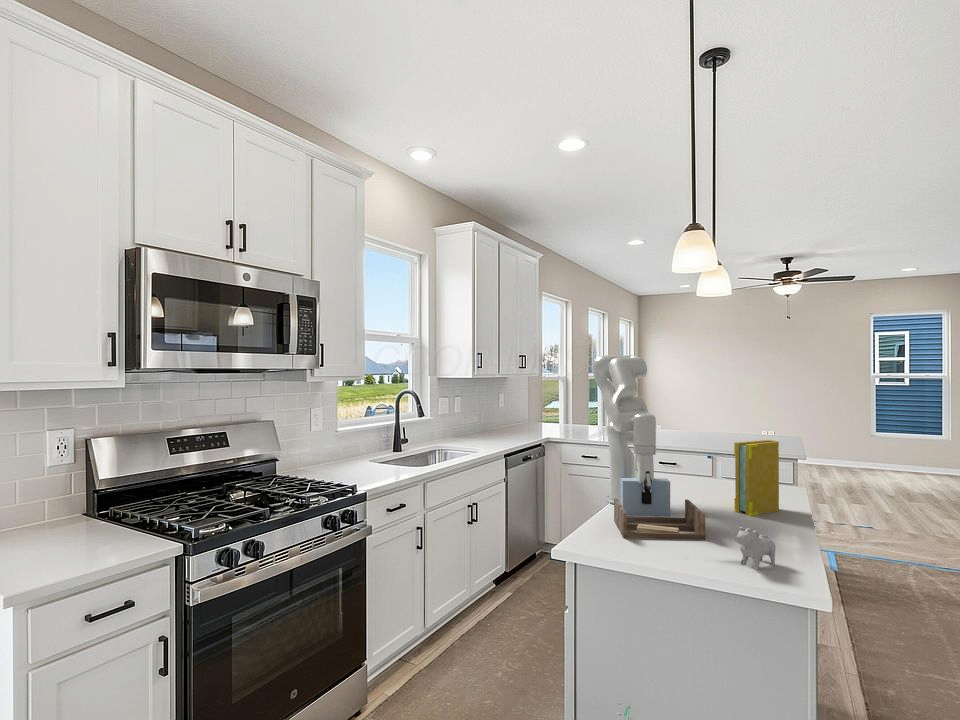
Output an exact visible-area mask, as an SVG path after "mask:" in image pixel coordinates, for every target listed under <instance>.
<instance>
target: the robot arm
mask: <svg viewBox="0 0 960 720" xmlns="http://www.w3.org/2000/svg"><path fill="white" fill-rule="evenodd" d="M592 374H593V377H594V380H595V383H596V385H597V386H598V389H599V391H600V393H601V396H602V400H603V405H604V409H605V413H606V416H607V417H608V418H609V419H610V422H609V423H608V424H607V427H606V435H607V441H608V452H609V454H608V455H609V458H608V459H609V460H608V461H609V495H607V496H605V501H606V502H607V503H610V504H612V505H614V498H617V499H618V500H619V502H620V478H636V480H637V481H638V483H639V484H641V483H642V489H643V492H642V504H651V503H652V494H651V484H652V483H653V482H654V477H655V476H654V475H655V474H654V472H655V471H654V470H655V469H654V467H655V465H654V456H656V455H657V419H656V415H655V414H651V413H649V411H648V407H647V404H646V402H645V401H644V400H645V399H644V398H642V397H639V396H636V395H637V394H638V392H639V386H638V383H637V380H636V379H638V380H639V379H644V378H645V377H646V376H647V374H648V365H647V364H646V361H645V360H644V359H643V358H642V357H640V356H635V355H633V354H632V355H631V354H629V355H627V354H625V355H623V354H621V355H620V354H619V355H618V354H617V355H612V354H611V355H608V354H607V355H601V356H598V357H596V358H595V359H594V360H593V363H592ZM629 445H633V450H631V449H630V447H629ZM651 480H652V481H651ZM644 481H646V483H644ZM644 485H646V486H644ZM612 502H613V503H612Z"/></svg>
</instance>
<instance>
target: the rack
mask: <svg viewBox="0 0 960 720" xmlns="http://www.w3.org/2000/svg"><path fill="white" fill-rule="evenodd" d="M613 507H614V508H613V518H614V519H613V521H614V524H615V526H616V527H617V529H618V531H619V532H620V535H621V537H622V539H632V540H633V539H635V540H636V539H638V540H639V539H641V540H647V539H648V540H688V541H689V540H691V541H693V540H694V541H697V540H698V541H705V540H706V513H704V511H702V509H700V508H699V507H698V506H697V505H695V503H693V502H692V501H690V500H689V499H686V498H685V499H684V517H672V516H670V517H664V516H627V513H626V511H625V510H624V508H623V507H622V505H621V504H620V502H619V500H618V499H617V498H614V504H613ZM638 524H644V525H654V526H663V527H673V528H679V533H654V532H637V526H638ZM628 530H634V531H628ZM680 531H681V532H680ZM682 531H683V532H682ZM684 531H685V532H684ZM686 531H687V532H686ZM691 532H694V533H691Z"/></svg>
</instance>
